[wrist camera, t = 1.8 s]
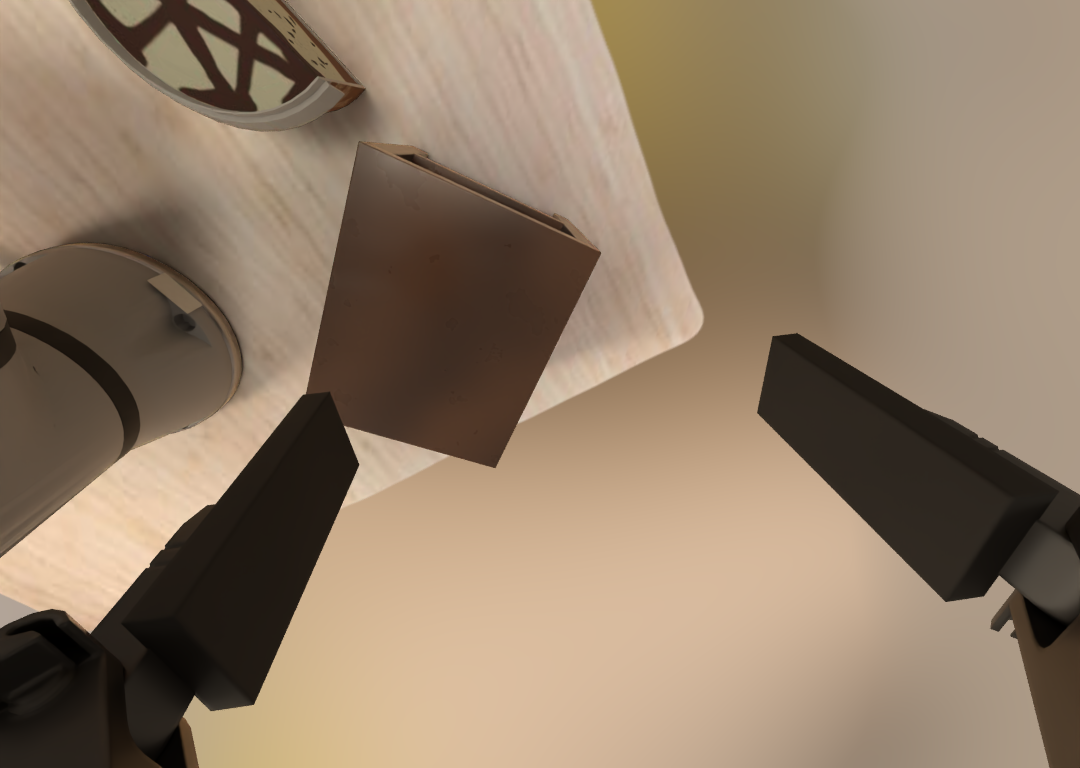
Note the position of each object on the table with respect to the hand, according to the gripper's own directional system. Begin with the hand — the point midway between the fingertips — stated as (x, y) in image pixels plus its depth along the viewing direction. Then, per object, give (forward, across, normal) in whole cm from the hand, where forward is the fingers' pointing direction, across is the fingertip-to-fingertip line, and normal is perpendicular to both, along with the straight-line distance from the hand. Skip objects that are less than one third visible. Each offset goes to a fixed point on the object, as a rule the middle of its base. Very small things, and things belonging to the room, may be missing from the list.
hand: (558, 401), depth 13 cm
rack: (+23, -5, -2) cm, 23 cm away
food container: (+23, -14, +13) cm, 30 cm away
